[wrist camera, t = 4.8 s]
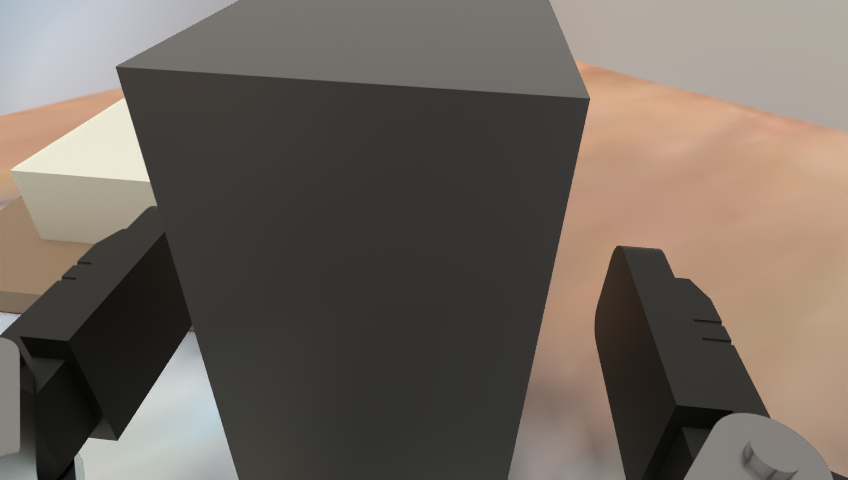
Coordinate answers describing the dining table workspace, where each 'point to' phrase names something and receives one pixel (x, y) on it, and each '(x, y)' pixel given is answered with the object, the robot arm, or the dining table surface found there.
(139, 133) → the plug
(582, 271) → the dining table surface
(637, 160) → the dining table surface
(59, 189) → the socket
